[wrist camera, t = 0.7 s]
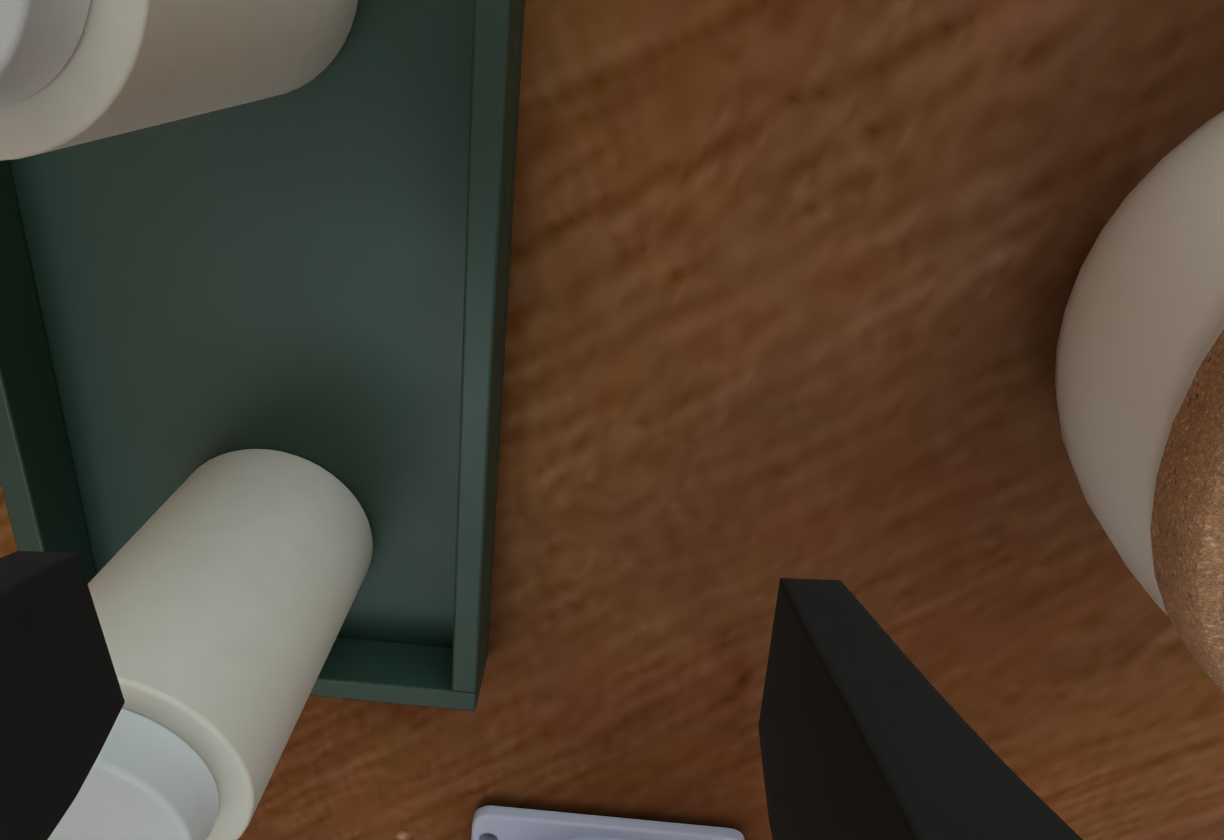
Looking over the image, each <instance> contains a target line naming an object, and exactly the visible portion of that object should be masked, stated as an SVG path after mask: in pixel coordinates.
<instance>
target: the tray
mask: <svg viewBox="0 0 1224 840" xmlns="http://www.w3.org/2000/svg"><path fill="white" fill-rule="evenodd" d="M524 4H525V0H358V3H357V10H356V13H355V17H354V20H353V23H352V27H351V29H350V31H349V34H348V36H347V38H346V40H345V43H344V44H343V46H342V47H341V49H340V51H339V52H338V54H337V55H336V57H335V58H334V59H333V60H332V62H331V63H330V64H329V65H328V66H327V67H326V69H325V70H323V71H322V72H321V73H320V74H319V75H318V76H316V77H315V78H314V79H313V80H311V81H310V82H308V83H306V84H305V85H303V86H301V87H300V88H298V89H295V90H293V91H290V92H288V93H285V94H282V95H277V96H273V97H269V98H265V99H261V100H257V101H253V102H249V103H245V104H241V105H237V106H233V107H229V108H225V109H221V110H217V111H212V112H208V113H204V114H200V115H196V116H192V117H188V118H184V119H180V120H176V121H172V122H168V123H164V124H160V125H156V126H152V127H147V128H143V129H139V130H135V131H131V132H127V133H123V134H119V135H115V136H111V137H107V138H103V139H99V140H95V141H91V142H86V143H82V144H78V145H74V146H70V147H66V148H62V149H58V150H54V151H50V152H46V153H42V154H38V155H34V156H29V157H25V158H21V159H14V160H3V161H0V483H1V487H2V491H3V495H4V498H5V502H6V506H7V510H8V514H9V518H10V521H11V525H12V529H13V533H14V537H15V541H16V544H17V548H18V551H38V552H66V553H78V555H79V558H80V562H81V565H82V568H83V571H84V574H85V577H86V581H87V584H88V583H89V582H90V581H91V580H92V579H93V578H94V577H95V576H96V575H97V574H98V573H99V572H100V570H101V569H102V568H103V567H104V566H105V565H106V564H107V563H108V562H109V561H110V560H111V559H112V558H113V557H114V556H115V555H116V554H117V552H118V551H119V550H120V549H121V548H122V547H123V546H124V545H125V544H126V543H127V542H128V541H129V540H130V539H131V538H132V537H133V536H134V535H135V533H136V532H137V531H138V530H139V529H140V528H141V527H142V526H143V525H144V524H145V523H146V522H147V521H148V520H149V519H150V518H151V517H152V515H153V514H154V513H155V512H156V511H157V510H158V509H159V508H160V507H161V506H162V505H163V504H164V503H165V502H166V501H167V500H168V499H169V497H170V496H171V495H172V494H173V493H174V492H175V491H176V490H177V489H178V488H179V487H180V486H181V485H182V484H183V483H184V482H185V481H186V479H187V478H188V477H189V476H190V475H191V474H192V473H193V472H194V471H195V470H196V469H197V468H198V467H200V466H201V465H203V464H204V463H205V462H207V461H209V460H211V459H213V458H215V457H217V456H219V455H222V454H225V453H228V452H233V451H238V450H245V449H269V450H275V451H282V452H285V453H289V454H293V455H296V456H299V457H301V458H304V459H306V460H309V461H311V462H313V463H315V464H316V465H318V466H320V467H322V468H323V469H325V470H326V471H328V472H329V473H331V474H332V475H334V476H335V477H336V478H337V479H338V480H340V481H341V482H342V483H343V484H344V485H345V486H346V487H347V488H348V489H349V490H350V491H351V492H352V494H353V495H354V496H355V498H356V499H357V500H358V502H359V503H360V505H361V507H362V508H363V510H364V512H365V514H366V517H367V519H368V522H369V525H370V529H371V533H372V541H373V552H372V559H371V563H370V566H369V569H368V571H367V573H366V576H365V578H364V580H363V582H362V584H361V586H360V588H359V590H358V593H357V595H356V597H355V599H354V601H353V603H352V605H351V608H350V610H349V612H348V614H347V616H346V618H345V620H344V622H343V625H342V627H341V629H340V631H339V633H338V635H337V637H336V639H335V642H334V644H333V646H332V648H331V650H330V652H329V654H328V657H327V659H326V661H325V663H324V665H323V667H322V669H321V671H320V674H319V676H318V678H317V680H316V682H315V684H314V686H313V688H312V691H311V693H310V695H313V696H323V697H333V698H343V699H353V700H364V701H374V702H384V703H394V704H404V705H414V706H425V707H435V708H445V709H455V710H465V711H475V709H476V705H477V700H478V696H479V691H480V687H481V682H482V678H483V673H484V669H485V665H486V660H487V652H488V634H489V617H490V599H491V582H492V564H493V547H494V529H495V512H496V494H497V477H498V459H499V442H500V424H501V407H502V389H503V372H504V354H505V337H506V319H507V302H508V284H509V267H510V249H511V232H512V214H513V197H514V179H515V162H516V144H517V127H518V109H519V92H520V74H521V57H522V39H523V22H524Z"/></svg>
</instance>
